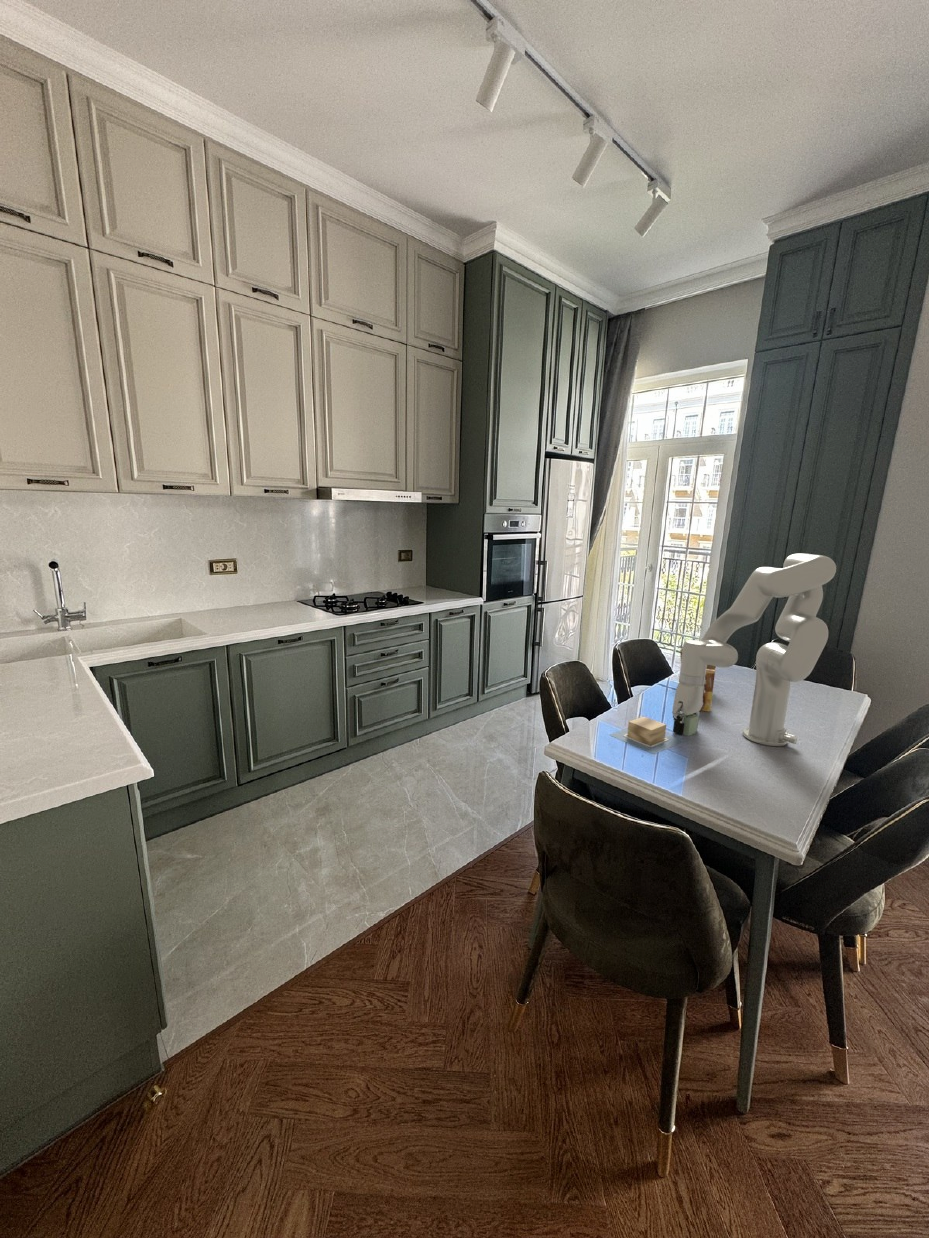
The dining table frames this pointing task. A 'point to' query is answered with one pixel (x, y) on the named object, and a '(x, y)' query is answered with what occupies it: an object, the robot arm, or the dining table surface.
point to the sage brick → (690, 724)
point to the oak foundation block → (646, 730)
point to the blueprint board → (652, 749)
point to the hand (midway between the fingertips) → (685, 730)
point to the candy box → (708, 690)
